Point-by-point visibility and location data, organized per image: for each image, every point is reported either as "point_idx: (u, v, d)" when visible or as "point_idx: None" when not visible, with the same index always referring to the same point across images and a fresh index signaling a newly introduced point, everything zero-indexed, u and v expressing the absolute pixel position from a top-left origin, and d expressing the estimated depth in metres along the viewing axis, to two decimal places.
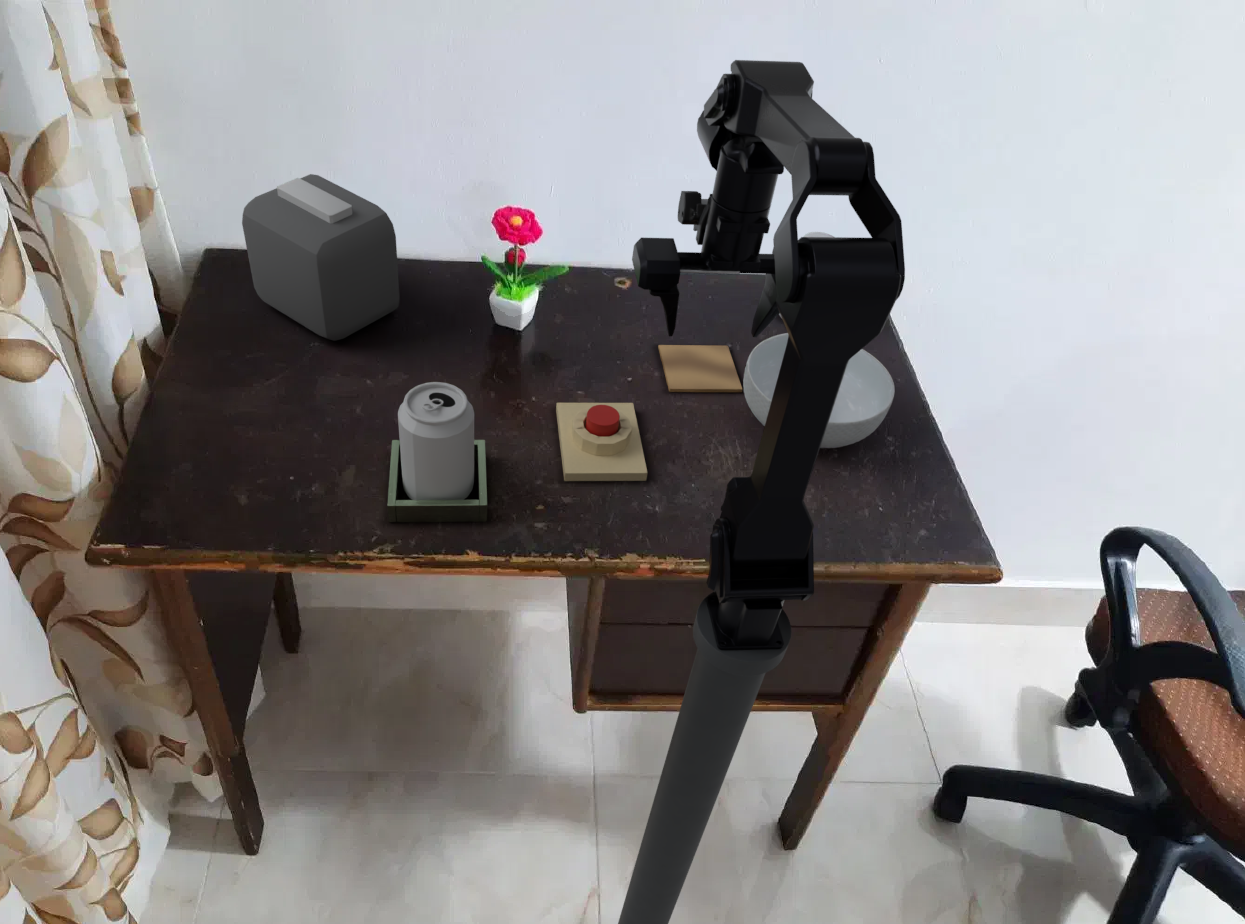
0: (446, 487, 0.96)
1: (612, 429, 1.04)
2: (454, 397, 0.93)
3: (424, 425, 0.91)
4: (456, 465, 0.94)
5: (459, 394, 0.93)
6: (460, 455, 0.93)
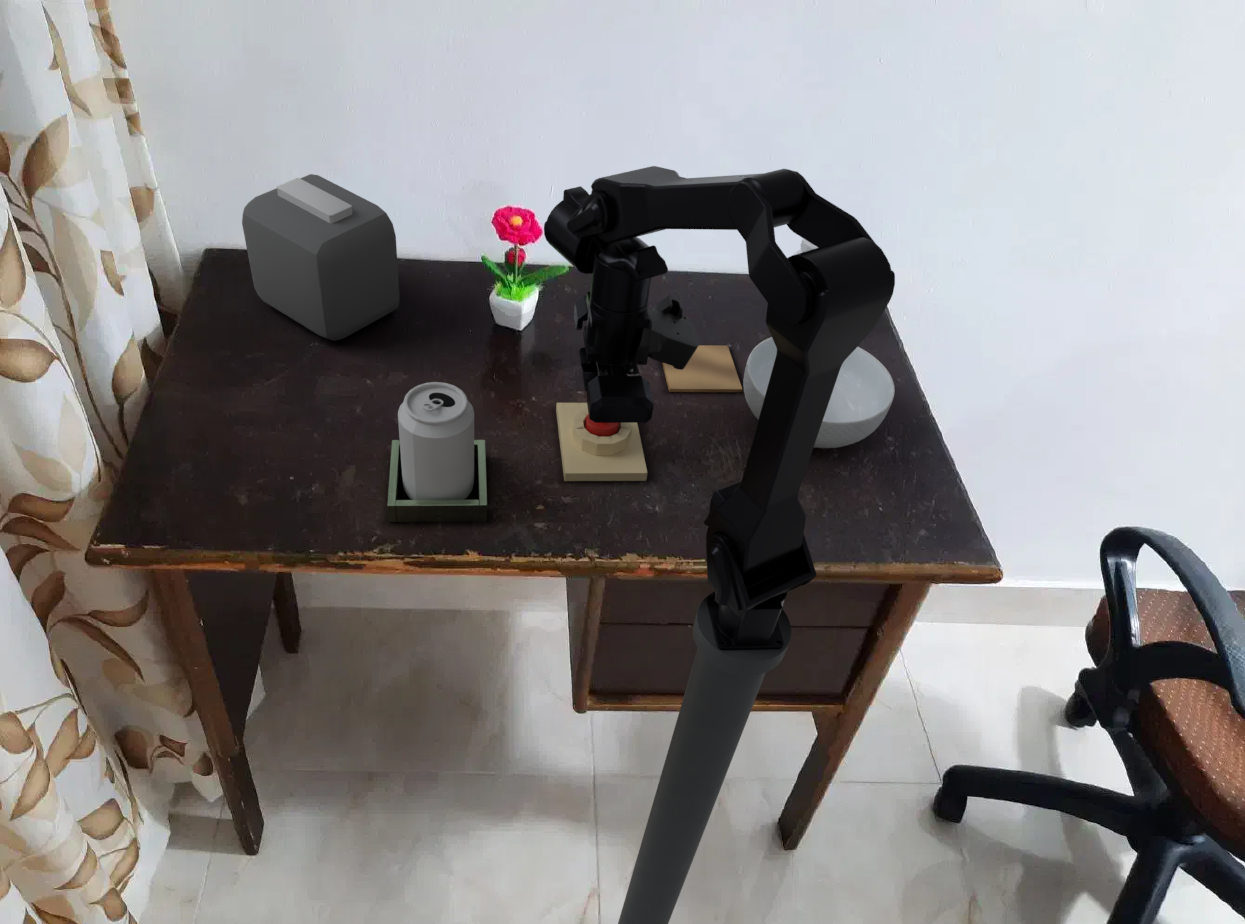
0: (446, 487, 0.96)
1: (611, 433, 1.04)
2: (454, 397, 0.93)
3: (424, 425, 0.91)
4: (456, 465, 0.94)
5: (459, 394, 0.93)
6: (460, 455, 0.93)
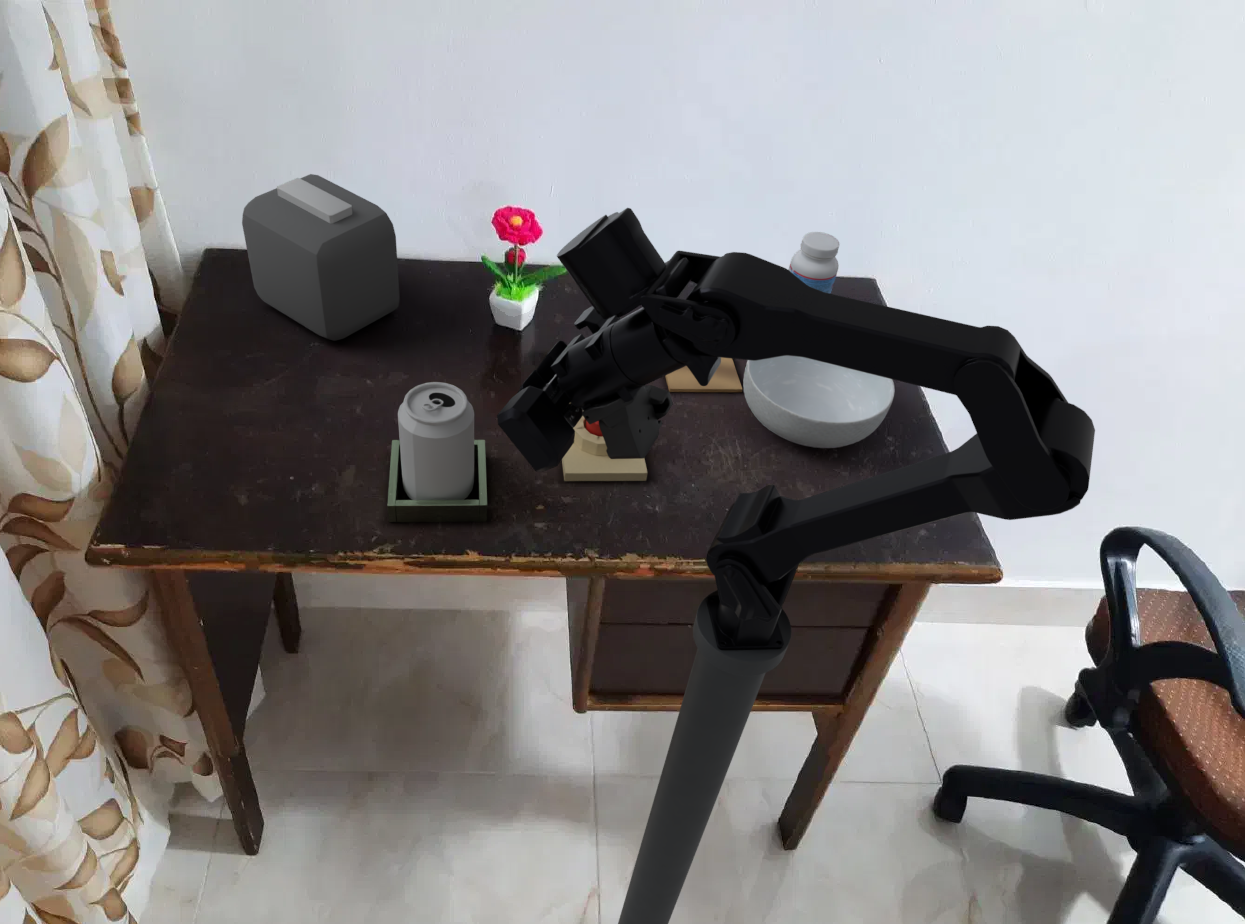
0: (446, 487, 0.96)
1: None
2: (454, 397, 0.93)
3: (424, 425, 0.91)
4: (456, 465, 0.94)
5: (459, 394, 0.93)
6: (460, 455, 0.93)
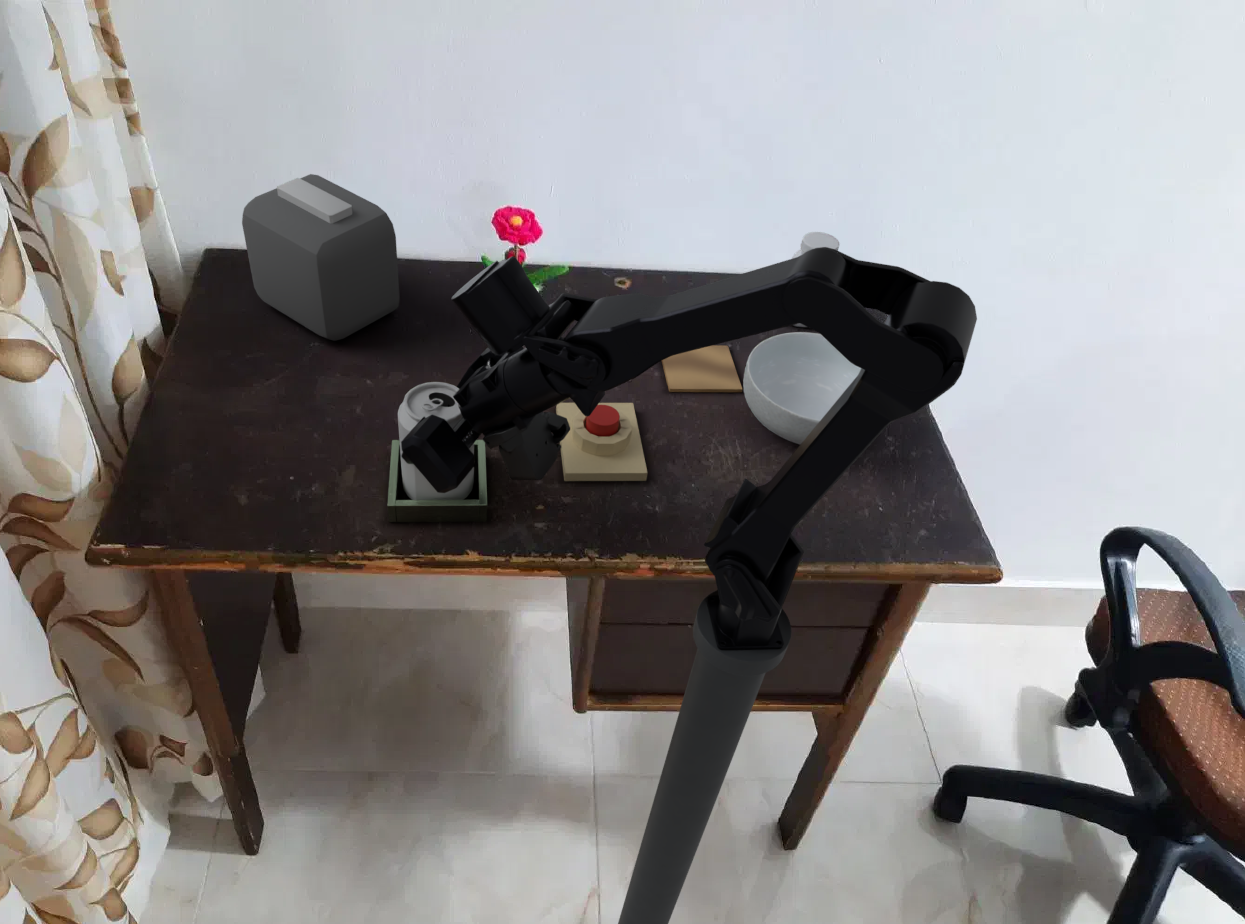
0: None
1: (612, 429, 1.04)
2: None
3: None
4: None
5: None
6: None
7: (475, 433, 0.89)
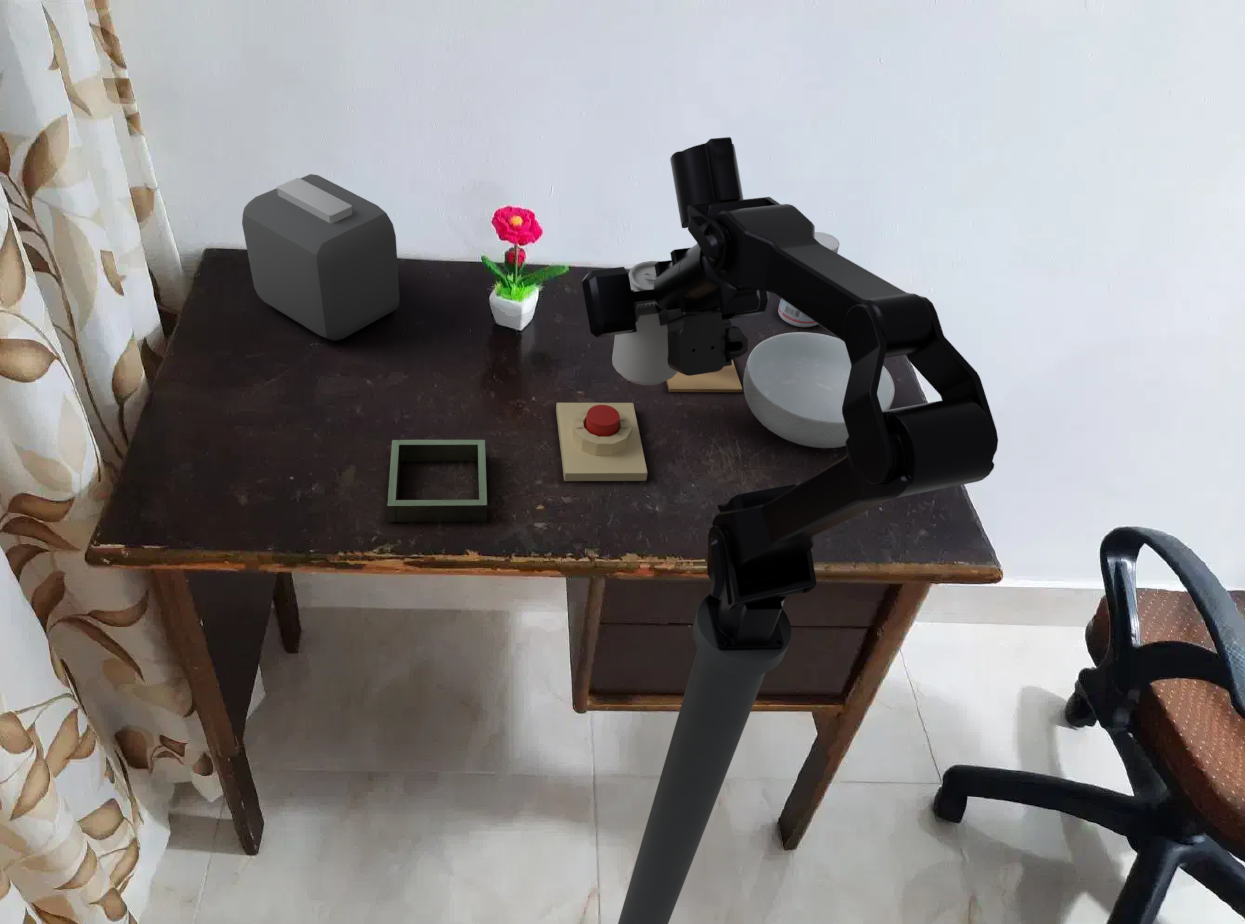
0: (634, 359, 1.01)
1: (612, 429, 1.04)
2: None
3: (632, 287, 0.97)
4: (647, 341, 0.99)
5: None
6: (653, 332, 0.98)
7: (658, 308, 0.93)
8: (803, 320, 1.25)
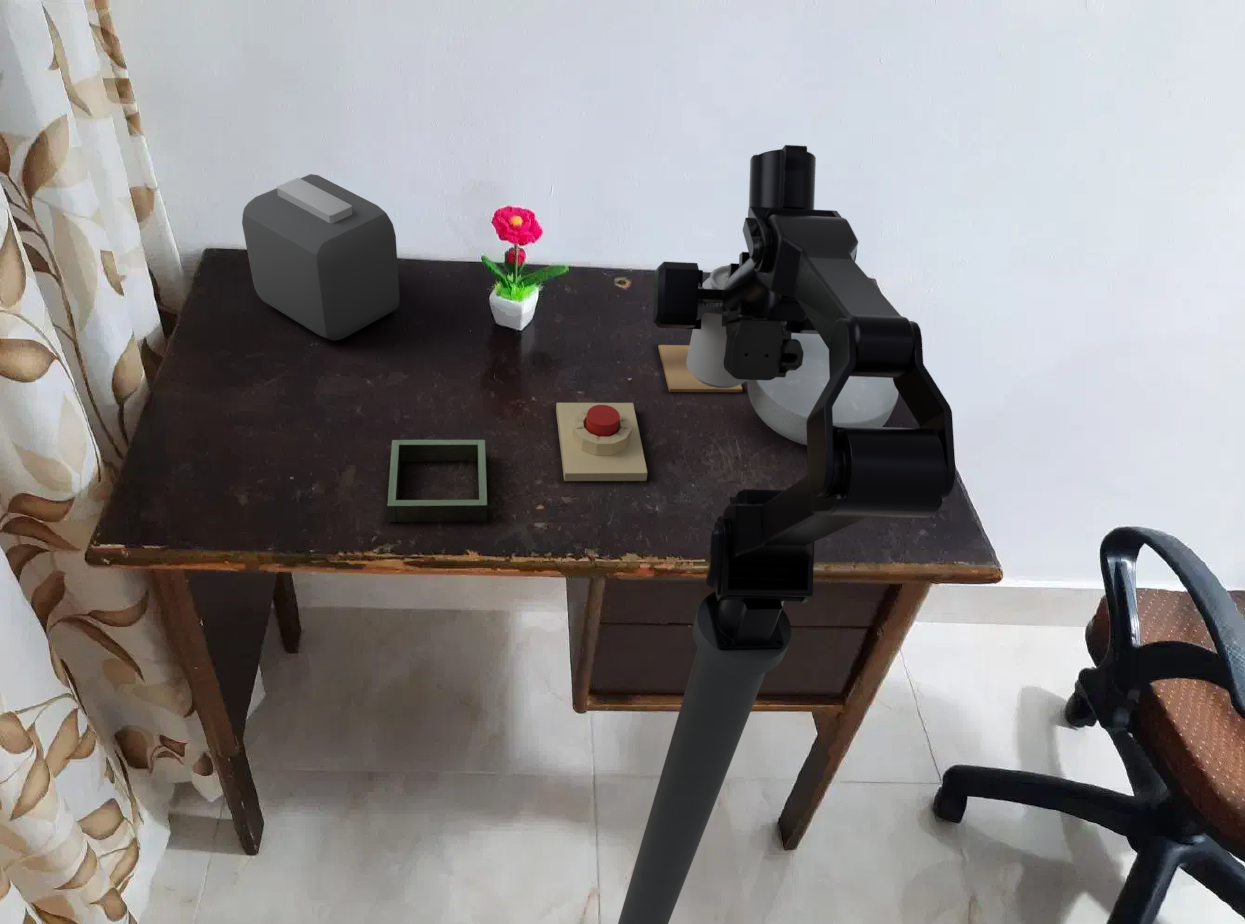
0: (703, 358, 1.02)
1: (612, 429, 1.04)
2: None
3: (710, 287, 0.98)
4: (716, 342, 1.00)
5: None
6: (723, 334, 0.99)
7: (725, 309, 0.94)
8: None
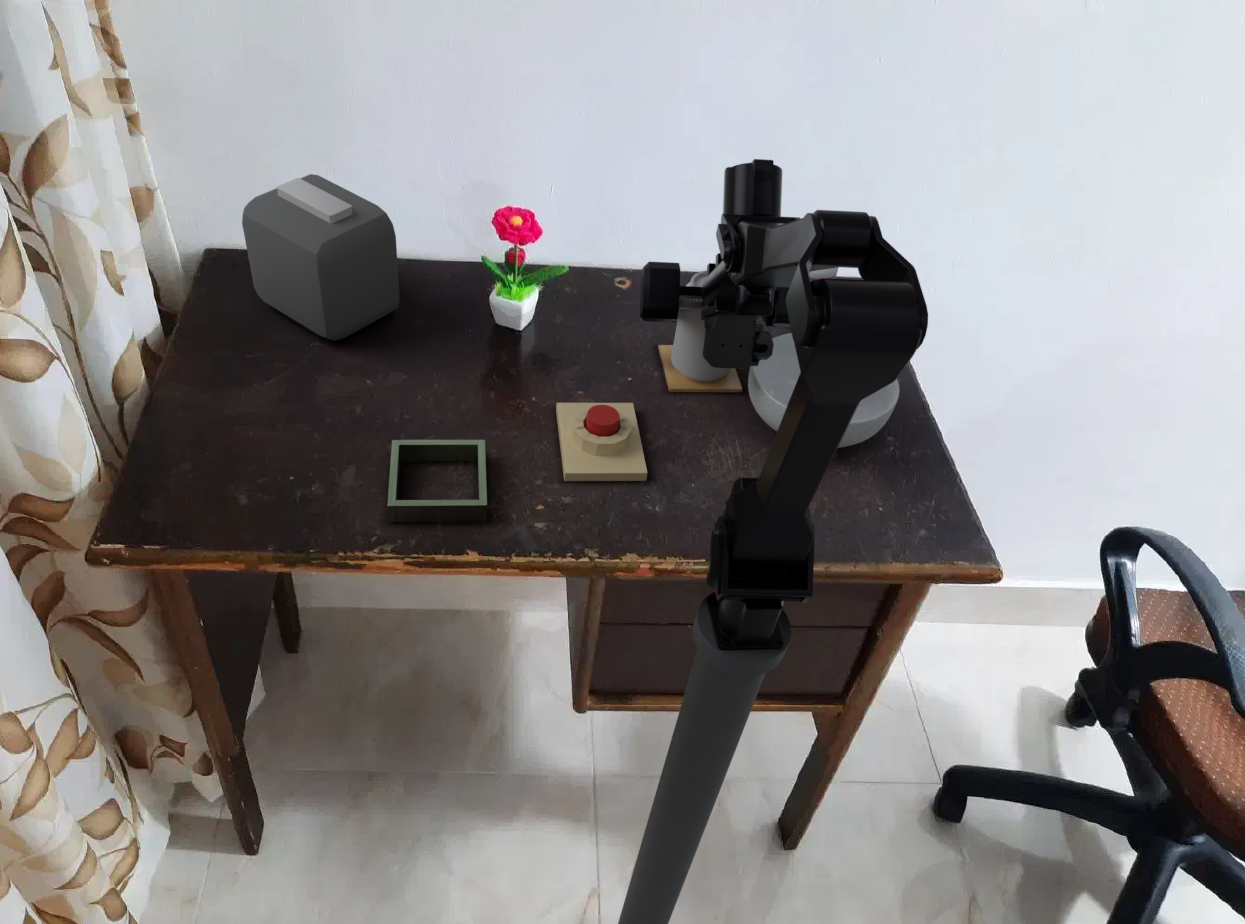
0: (685, 354, 1.13)
1: (612, 429, 1.04)
2: None
3: None
4: (697, 340, 1.11)
5: None
6: (702, 333, 1.10)
7: (697, 304, 1.04)
8: None
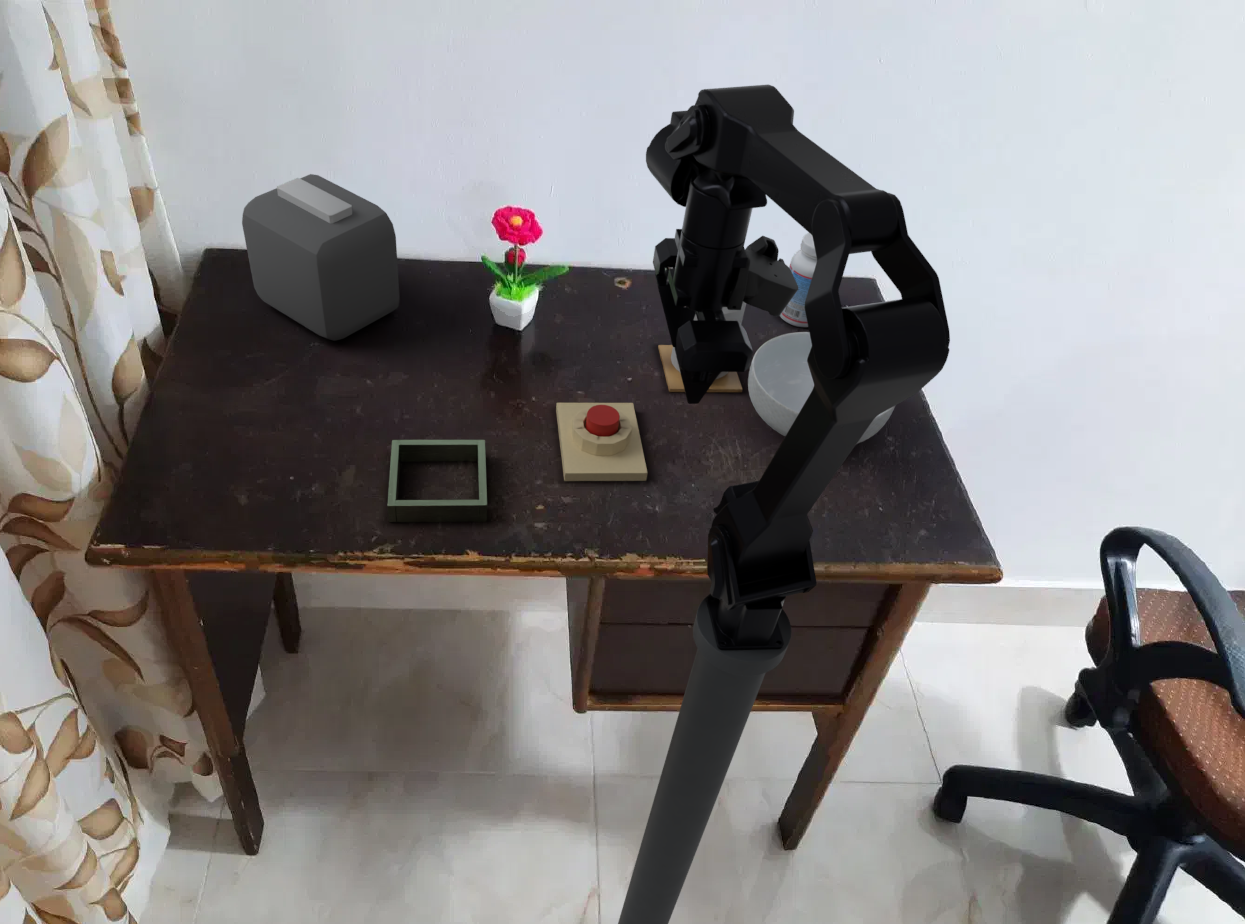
0: None
1: (612, 429, 1.04)
2: None
3: None
4: None
5: None
6: None
7: (720, 318, 0.87)
8: (803, 320, 1.25)
